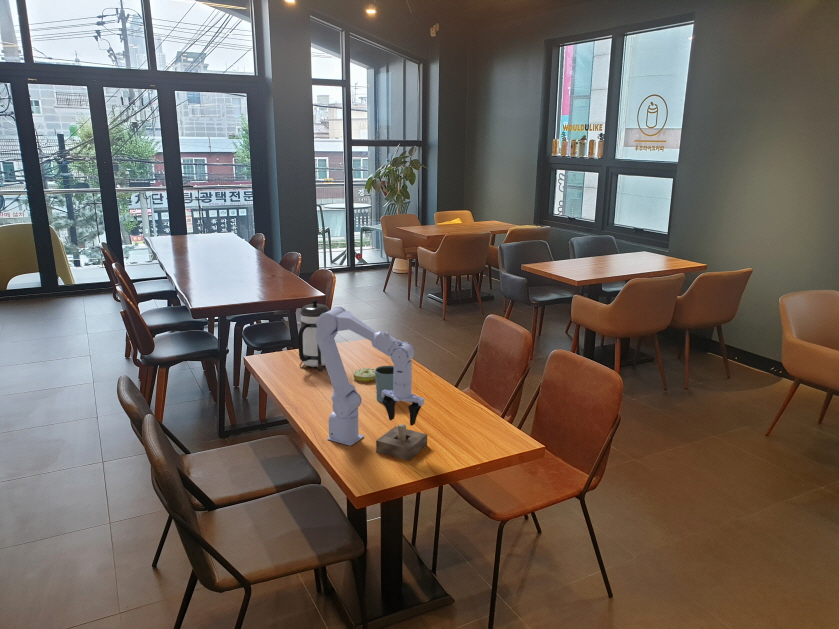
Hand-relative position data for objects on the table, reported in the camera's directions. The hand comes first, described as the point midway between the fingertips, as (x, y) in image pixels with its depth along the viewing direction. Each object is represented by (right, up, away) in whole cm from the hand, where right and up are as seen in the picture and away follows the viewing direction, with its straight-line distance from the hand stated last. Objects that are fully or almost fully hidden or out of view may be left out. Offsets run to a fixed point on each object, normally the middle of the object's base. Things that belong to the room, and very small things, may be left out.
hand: (402, 421), depth 201 cm
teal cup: (-6, +1, +42) cm, 42 cm away
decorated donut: (-17, +7, +63) cm, 65 cm away
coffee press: (-40, +11, +76) cm, 86 cm away
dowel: (0, -9, +2) cm, 9 cm away
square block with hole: (0, -9, +2) cm, 9 cm away
